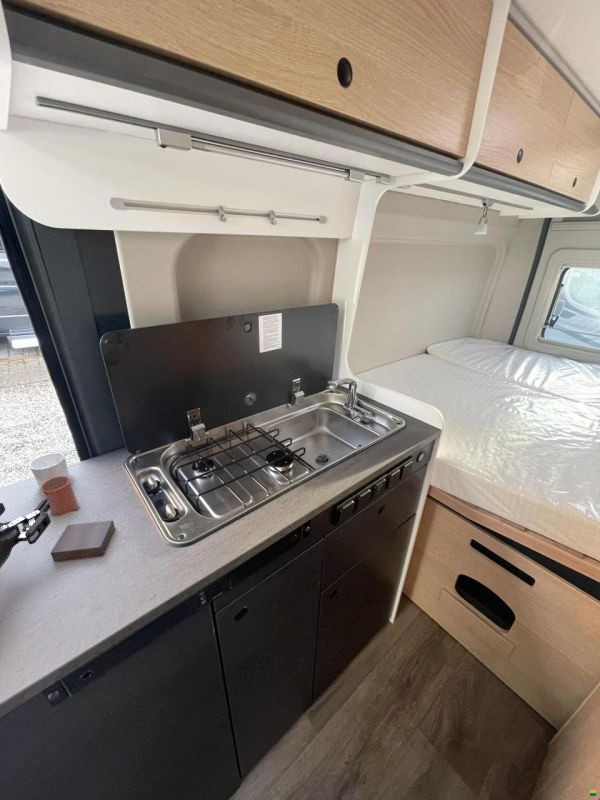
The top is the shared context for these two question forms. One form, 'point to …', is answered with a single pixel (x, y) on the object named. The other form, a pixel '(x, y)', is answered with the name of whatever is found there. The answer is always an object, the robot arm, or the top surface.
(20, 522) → the robot arm
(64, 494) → the canister
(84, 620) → the top surface
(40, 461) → the white cup
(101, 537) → the walnut block
